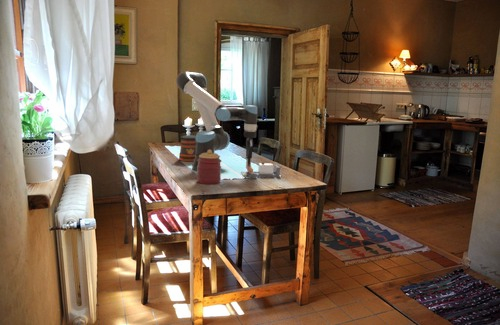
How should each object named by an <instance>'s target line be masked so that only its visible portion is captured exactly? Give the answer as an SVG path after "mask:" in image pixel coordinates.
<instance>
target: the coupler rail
mask: <svg viewBox="0 0 500 325" xmlns="http://www.w3.org/2000/svg"><path fill="white" fill-rule="evenodd" d="M240 173H241V175H242V177H249V179H253V180H257V178H259V177H260V178H261V177H263V178H267V177H268V178H269V177H270V178H280V176H281V167H280V165H278V164H273V175H261V174H259V173H258V171H253V173H249V172H248V171H241V172H240Z"/></svg>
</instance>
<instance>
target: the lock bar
mask: <svg viewBox="0 0 500 325" xmlns="http://www.w3.org/2000/svg"><path fill="white" fill-rule="evenodd" d="M246 172H249V173H253V172H254V168H253V167H252V165H251V166H250V164H248V165H247V169H246Z"/></svg>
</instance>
